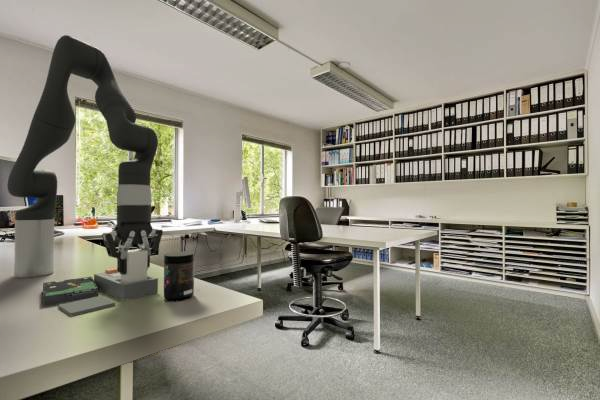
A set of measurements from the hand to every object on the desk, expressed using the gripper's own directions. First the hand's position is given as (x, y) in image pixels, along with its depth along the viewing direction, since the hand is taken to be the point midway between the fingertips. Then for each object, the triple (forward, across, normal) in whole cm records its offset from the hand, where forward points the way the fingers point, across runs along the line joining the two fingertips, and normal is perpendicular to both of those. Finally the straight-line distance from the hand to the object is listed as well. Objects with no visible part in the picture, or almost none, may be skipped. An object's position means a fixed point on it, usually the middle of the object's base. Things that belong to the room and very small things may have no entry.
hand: (133, 271), depth 74 cm
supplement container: (+6, -5, +12) cm, 14 cm away
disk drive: (+6, +10, -12) cm, 17 cm away
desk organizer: (+5, 0, -8) cm, 10 cm away
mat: (+5, +10, +2) cm, 12 cm away
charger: (+3, 0, 0) cm, 3 cm away
